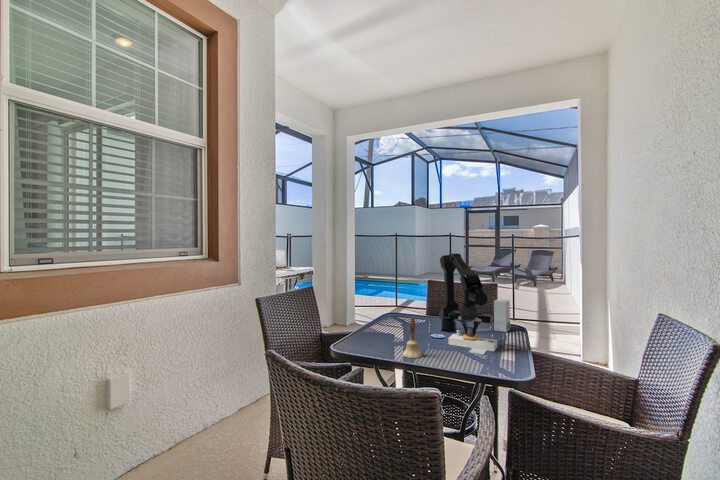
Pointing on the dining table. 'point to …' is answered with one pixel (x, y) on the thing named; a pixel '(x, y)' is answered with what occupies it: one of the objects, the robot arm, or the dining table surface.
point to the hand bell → (412, 343)
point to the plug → (470, 334)
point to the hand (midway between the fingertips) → (470, 335)
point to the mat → (477, 351)
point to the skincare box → (502, 315)
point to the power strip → (473, 342)
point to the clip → (477, 330)
